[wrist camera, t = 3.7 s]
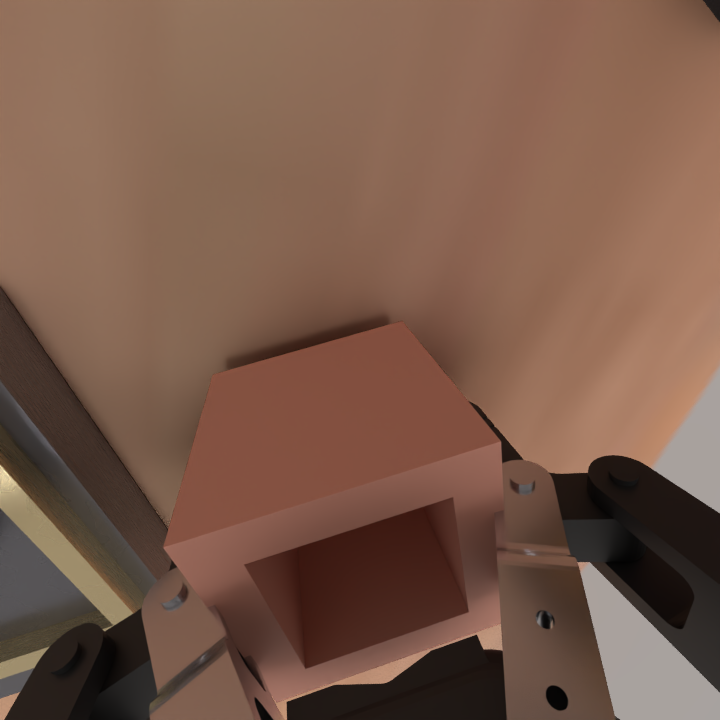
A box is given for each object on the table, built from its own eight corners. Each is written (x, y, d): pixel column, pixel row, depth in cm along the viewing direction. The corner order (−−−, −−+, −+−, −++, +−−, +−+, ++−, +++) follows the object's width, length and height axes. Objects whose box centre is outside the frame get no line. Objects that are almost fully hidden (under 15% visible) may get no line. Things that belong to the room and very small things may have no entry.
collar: (212, 374, 12) (163, 547, 6) (402, 320, 12) (500, 441, 7) (275, 507, 14) (276, 702, 9) (426, 460, 15) (509, 620, 10)
